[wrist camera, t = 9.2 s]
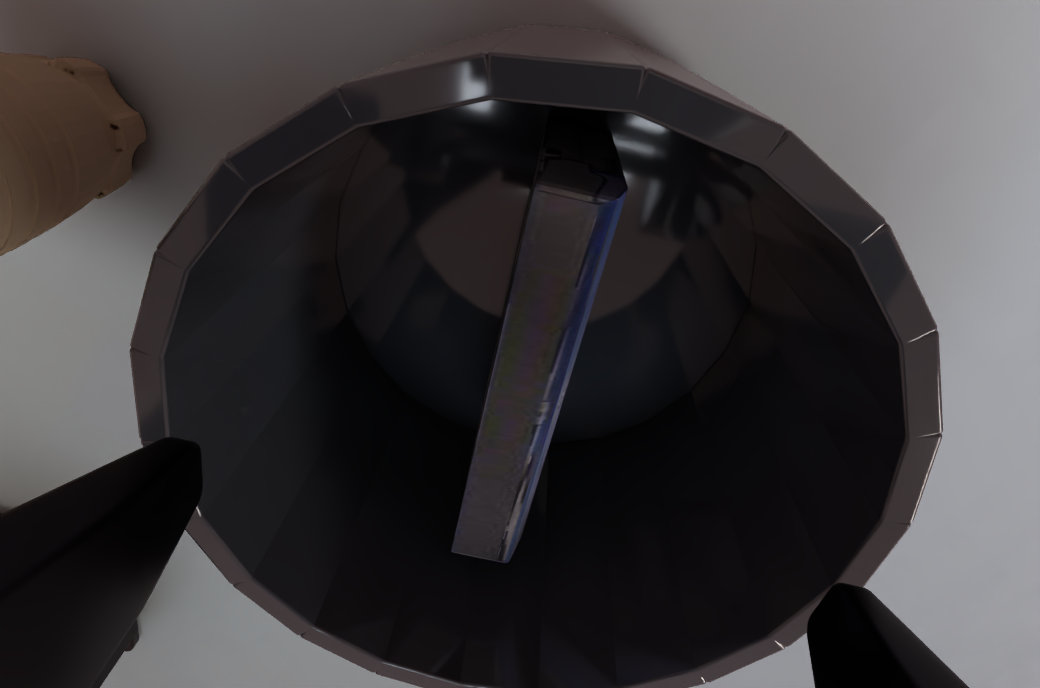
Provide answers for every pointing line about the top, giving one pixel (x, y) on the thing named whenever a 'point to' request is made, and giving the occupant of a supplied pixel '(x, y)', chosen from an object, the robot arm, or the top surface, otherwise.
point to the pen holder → (592, 385)
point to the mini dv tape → (540, 331)
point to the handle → (58, 142)
